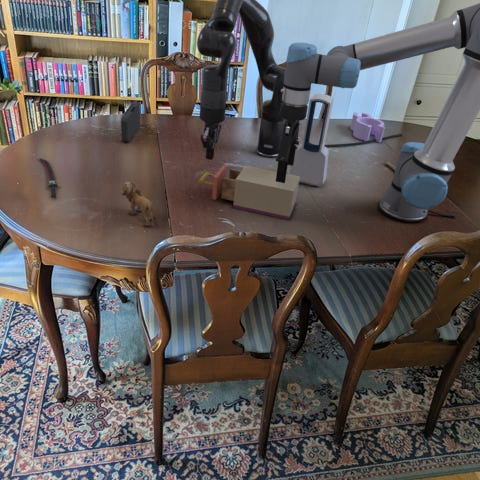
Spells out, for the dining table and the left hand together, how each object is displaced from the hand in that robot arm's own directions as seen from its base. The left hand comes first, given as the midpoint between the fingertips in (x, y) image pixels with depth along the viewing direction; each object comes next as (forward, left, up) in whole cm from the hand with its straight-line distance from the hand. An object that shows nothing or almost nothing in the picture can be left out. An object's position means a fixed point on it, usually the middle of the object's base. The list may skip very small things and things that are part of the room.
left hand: (209, 158), depth 146 cm
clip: (-97, -21, -12) cm, 100 cm away
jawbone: (-81, +17, -12) cm, 84 cm away
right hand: (-16, +18, 0) cm, 24 cm away
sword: (+42, -30, -12) cm, 54 cm away
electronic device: (-37, +6, -12) cm, 40 cm away
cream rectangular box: (-13, +15, -12) cm, 23 cm away
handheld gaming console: (+2, -58, -12) cm, 60 cm away
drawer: (-6, +7, -11) cm, 14 cm away
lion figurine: (+26, +5, -12) cm, 29 cm away
